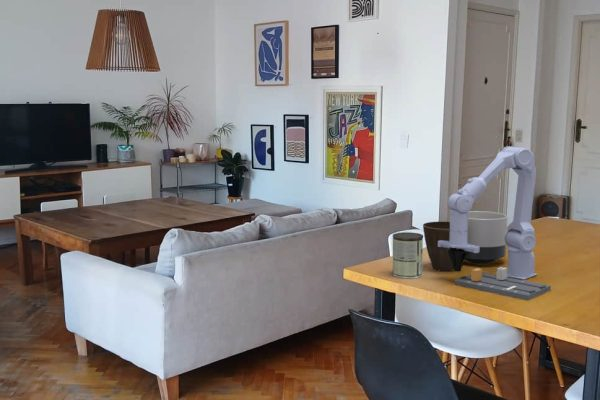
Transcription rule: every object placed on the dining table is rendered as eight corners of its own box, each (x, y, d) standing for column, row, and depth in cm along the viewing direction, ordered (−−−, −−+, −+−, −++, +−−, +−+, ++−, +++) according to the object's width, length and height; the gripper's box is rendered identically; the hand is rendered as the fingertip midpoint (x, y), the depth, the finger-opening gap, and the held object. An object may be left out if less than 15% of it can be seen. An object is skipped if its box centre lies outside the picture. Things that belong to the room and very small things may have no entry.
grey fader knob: (501, 277, 206) (501, 266, 206) (506, 278, 205) (507, 267, 204) (496, 279, 204) (496, 268, 204) (502, 280, 203) (502, 269, 202)
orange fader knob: (476, 278, 205) (476, 267, 205) (481, 279, 204) (482, 268, 203) (471, 280, 203) (471, 269, 203) (476, 281, 202) (477, 270, 201)
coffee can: (389, 271, 223) (390, 232, 221) (418, 271, 223) (419, 231, 221) (395, 279, 212) (395, 238, 211) (425, 278, 213) (426, 237, 211)
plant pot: (458, 276, 216) (459, 230, 214) (416, 271, 223) (417, 226, 221) (469, 266, 229) (470, 223, 227) (429, 262, 236) (430, 220, 234)
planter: (508, 268, 225) (510, 219, 223) (453, 266, 229) (454, 218, 227) (502, 256, 244) (504, 211, 242) (451, 254, 248) (452, 210, 246)
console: (478, 276, 215) (479, 270, 215) (550, 290, 197) (550, 284, 197) (454, 284, 205) (454, 278, 205) (527, 300, 187) (528, 293, 187)
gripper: (432, 229, 209) (431, 269, 211) (471, 235, 198) (470, 277, 200) (444, 226, 214) (443, 265, 215) (483, 232, 203) (482, 273, 205)
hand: (457, 271), depth 208 cm, fingers closed
